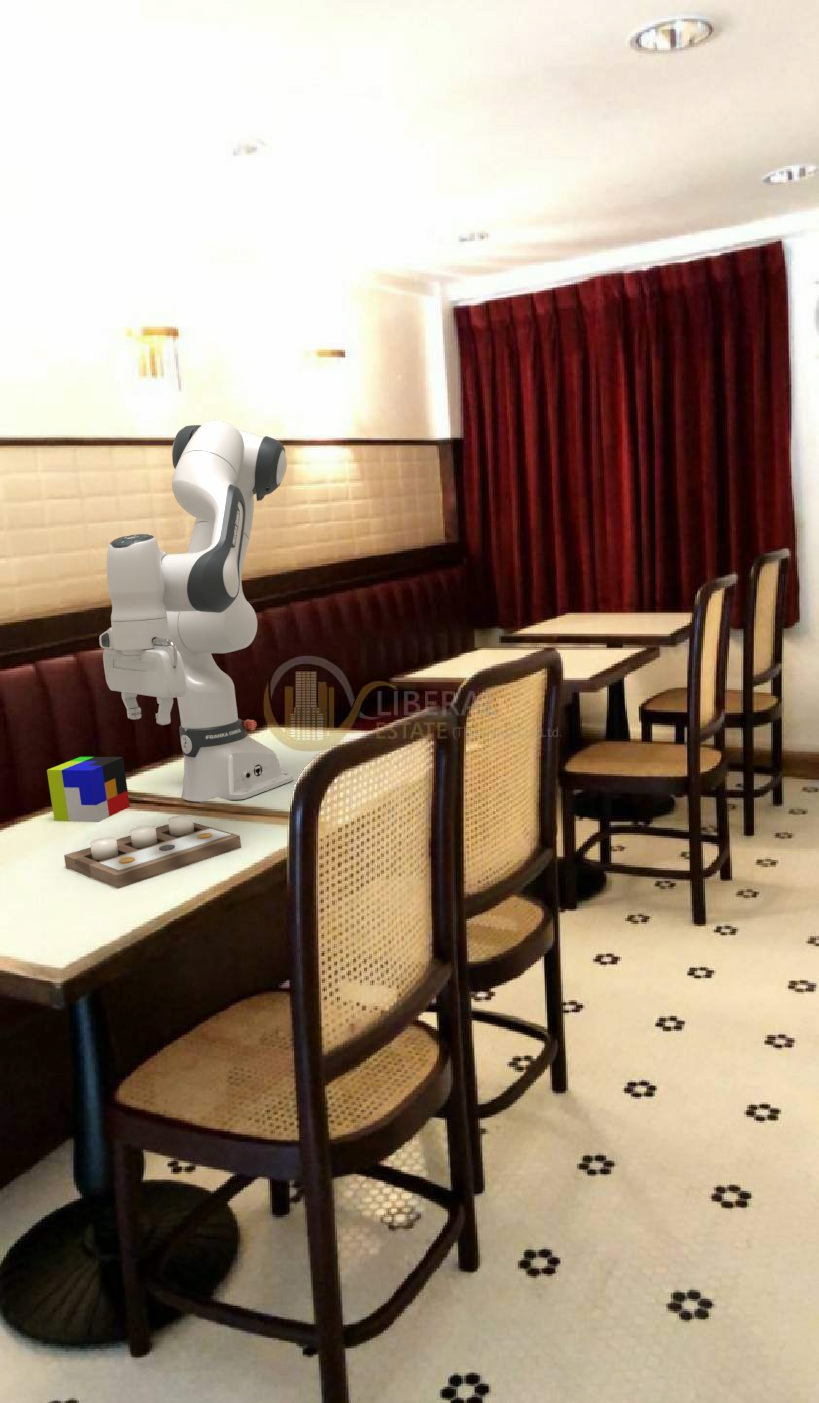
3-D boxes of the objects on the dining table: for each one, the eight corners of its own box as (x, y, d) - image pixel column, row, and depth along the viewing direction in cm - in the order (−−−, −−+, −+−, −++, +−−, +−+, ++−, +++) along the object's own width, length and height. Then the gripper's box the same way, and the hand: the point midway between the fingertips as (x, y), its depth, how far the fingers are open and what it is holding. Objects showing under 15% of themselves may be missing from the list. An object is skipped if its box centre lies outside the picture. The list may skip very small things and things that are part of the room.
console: (185, 836, 188) (183, 816, 187) (241, 853, 176) (239, 832, 175) (66, 873, 173) (63, 852, 173) (119, 894, 161) (116, 872, 160)
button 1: (110, 850, 174) (108, 835, 174) (123, 854, 171) (121, 839, 171) (87, 857, 171) (85, 842, 171) (99, 862, 168) (97, 846, 168)
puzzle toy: (98, 822, 202) (91, 770, 200) (54, 821, 206) (46, 770, 204) (129, 807, 211) (123, 757, 209) (87, 806, 215) (80, 756, 213)
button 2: (186, 827, 183) (184, 813, 183) (198, 831, 180) (197, 816, 180) (165, 833, 181) (163, 819, 180) (178, 837, 178) (176, 823, 177)
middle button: (149, 838, 179) (147, 824, 178) (162, 842, 176) (160, 828, 175) (127, 845, 176) (125, 830, 175) (140, 849, 173) (138, 834, 173)
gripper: (192, 636, 170) (199, 724, 172) (128, 632, 185) (136, 713, 187) (156, 641, 165) (164, 730, 168) (93, 636, 180) (102, 718, 183)
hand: (148, 721), depth 177 cm, fingers open, 8 cm apart
